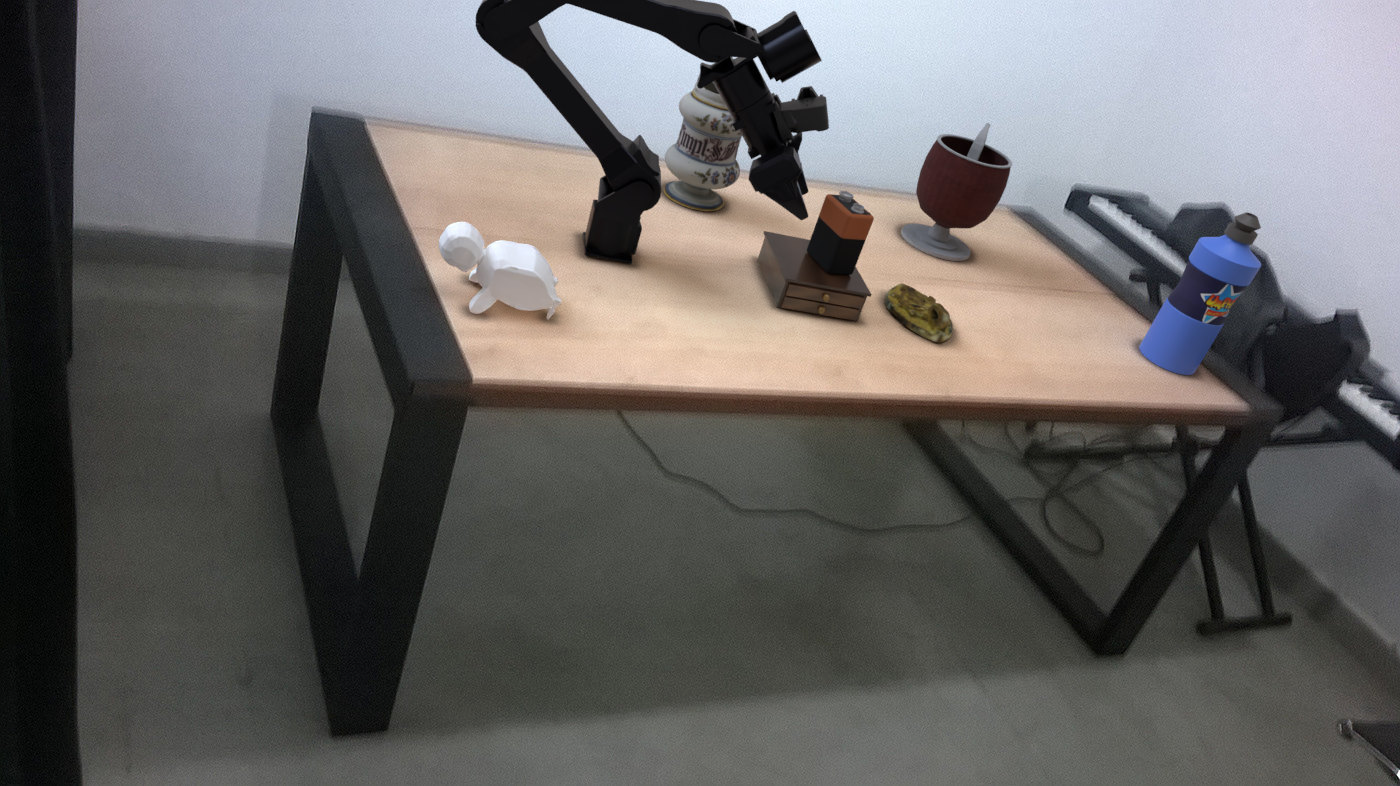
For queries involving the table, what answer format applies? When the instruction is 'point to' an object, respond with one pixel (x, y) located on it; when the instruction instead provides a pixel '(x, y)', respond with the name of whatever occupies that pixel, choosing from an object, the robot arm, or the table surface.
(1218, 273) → the water bottle
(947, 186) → the mate gourd
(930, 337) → the olive oval relief
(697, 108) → the apothecary jar
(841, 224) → the battery
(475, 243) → the white turtle figurine
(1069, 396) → the table surface
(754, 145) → the robot arm
